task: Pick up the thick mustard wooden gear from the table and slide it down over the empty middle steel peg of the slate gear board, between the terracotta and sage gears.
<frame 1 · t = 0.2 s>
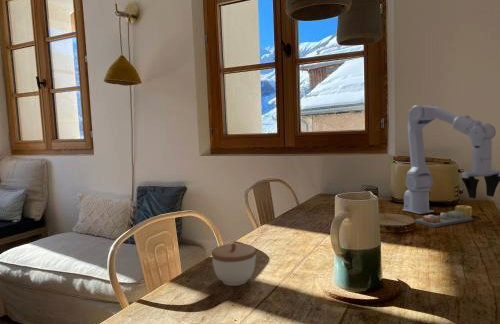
hand: (481, 197, 131), 10 cm above the table, tool pointing down, fingers open, 7 cm apart
lidded jar: (235, 281, 91), on the table
loose gear: (463, 215, 146), on the table
gear board: (443, 221, 139), on the table
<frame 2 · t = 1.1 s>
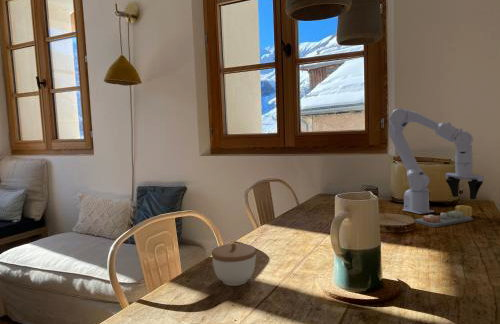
hand: (463, 197, 145), 7 cm above the table, tool pointing down, fingers open, 7 cm apart
nothing on the table moved.
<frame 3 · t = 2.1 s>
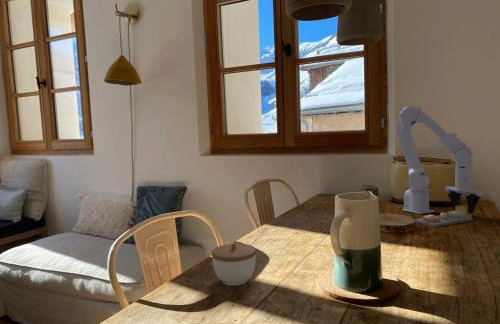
hand: (463, 212, 146), 1 cm above the table, tool pointing down, fingers closed on loose gear, 6 cm apart
loose gear: (463, 215, 146), on the table, touching gripper
everything else where it was.
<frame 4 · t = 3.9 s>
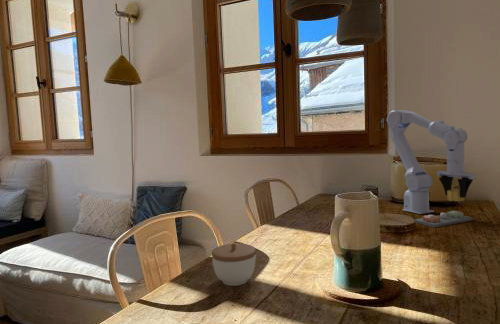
hand: (455, 196, 142), 8 cm above the table, tool pointing down, fingers closed on loose gear, 6 cm apart
loose gear: (455, 199, 142), point 7 cm above the table, touching gripper
everything else where it was.
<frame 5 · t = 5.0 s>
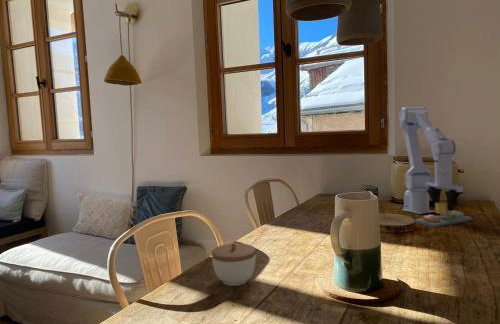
hand: (443, 208, 138), 5 cm above the table, tool pointing down, fingers closed on loose gear, 6 cm apart
loose gear: (443, 212, 138), point 3 cm above the table, touching gripper
everything else where it was.
when the fingers open (3 cm above the table, at t = 5.8 s): loose gear stays where it is, resting on gear board.
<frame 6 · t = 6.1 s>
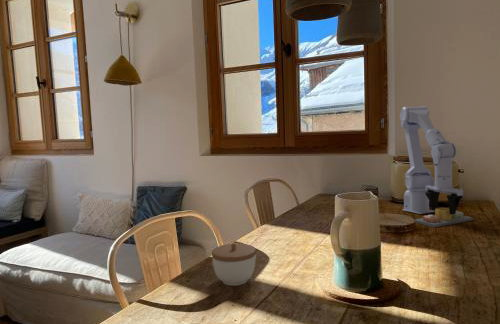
hand: (443, 212, 138), 3 cm above the table, tool pointing down, fingers open, 7 cm apart
loose gear: (443, 218, 139), point 1 cm above the table, touching gear board
everything else where it was.
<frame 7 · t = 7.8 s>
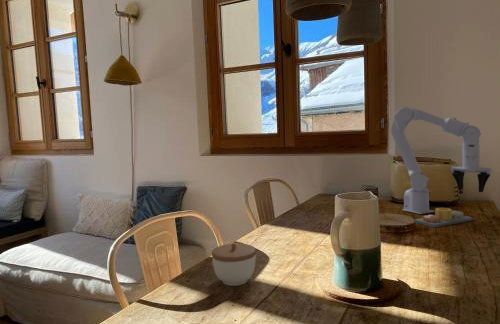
hand: (470, 190, 146), 9 cm above the table, tool pointing down, fingers open, 7 cm apart
nothing on the table moved.
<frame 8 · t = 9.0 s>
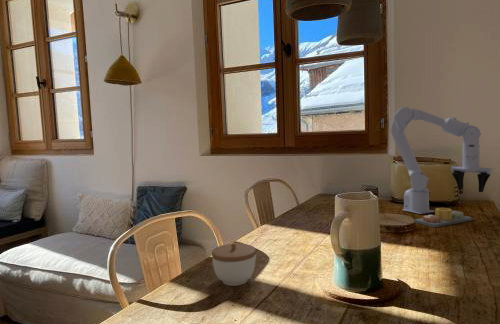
hand: (470, 190, 146), 9 cm above the table, tool pointing down, fingers open, 7 cm apart
nothing on the table moved.
at the end: loose gear 0.1 cm off-centre on the gear board, point 1.0 cm above the gear board's base; loose gear tilted 0°; the gripper is holding nothing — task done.
